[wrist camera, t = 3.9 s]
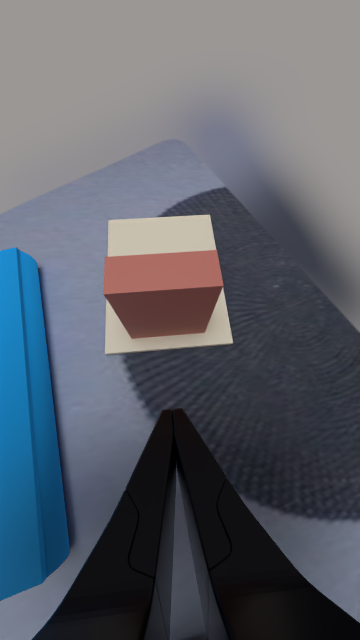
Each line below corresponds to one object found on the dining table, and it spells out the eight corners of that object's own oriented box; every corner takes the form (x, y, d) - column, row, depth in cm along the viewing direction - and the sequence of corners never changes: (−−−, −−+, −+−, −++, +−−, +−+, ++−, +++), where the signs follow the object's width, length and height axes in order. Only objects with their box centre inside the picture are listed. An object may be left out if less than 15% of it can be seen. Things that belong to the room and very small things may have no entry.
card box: (204, 332, 22) (223, 285, 13) (131, 338, 21) (103, 294, 13) (201, 308, 23) (216, 249, 14) (131, 313, 22) (104, 256, 14)
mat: (231, 344, 22) (233, 343, 21) (106, 354, 21) (104, 353, 21) (209, 218, 28) (209, 214, 27) (109, 223, 27) (108, 220, 27)
